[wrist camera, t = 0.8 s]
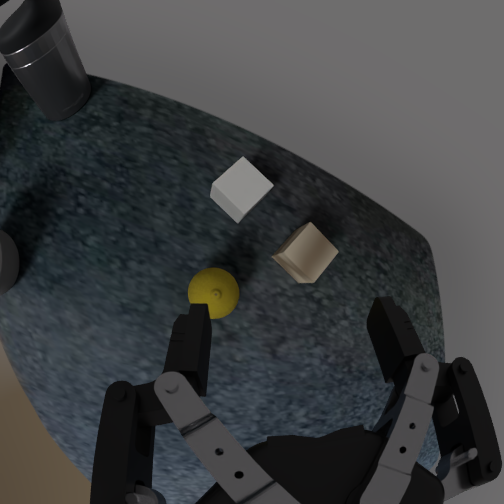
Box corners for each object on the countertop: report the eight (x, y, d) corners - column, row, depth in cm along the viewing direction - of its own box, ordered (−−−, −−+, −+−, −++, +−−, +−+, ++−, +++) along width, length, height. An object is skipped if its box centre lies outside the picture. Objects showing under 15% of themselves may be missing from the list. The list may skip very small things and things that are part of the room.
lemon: (233, 269, 34) (244, 265, 26) (234, 313, 34) (245, 322, 26) (188, 269, 33) (186, 265, 25) (189, 314, 33) (187, 324, 25)
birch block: (271, 256, 36) (283, 252, 31) (295, 229, 37) (310, 221, 32) (298, 282, 36) (313, 282, 31) (321, 255, 37) (338, 251, 32)
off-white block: (209, 196, 35) (212, 183, 30) (236, 172, 36) (243, 156, 31) (237, 223, 35) (244, 214, 30) (263, 197, 36) (273, 185, 31)
